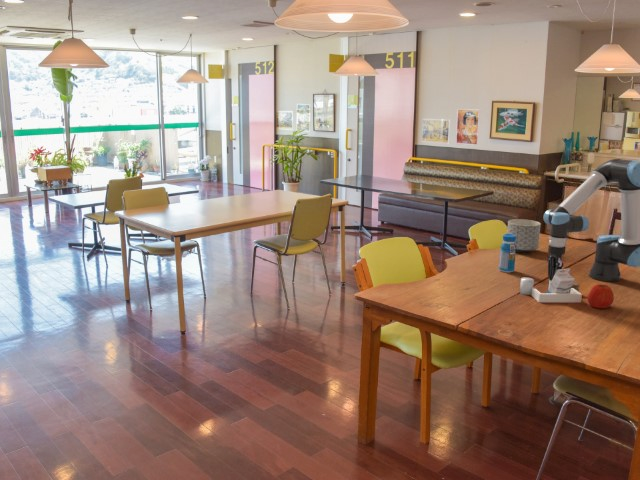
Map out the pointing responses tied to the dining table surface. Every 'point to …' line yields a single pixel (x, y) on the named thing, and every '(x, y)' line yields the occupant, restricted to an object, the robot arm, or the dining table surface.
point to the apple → (600, 296)
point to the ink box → (561, 282)
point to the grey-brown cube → (575, 286)
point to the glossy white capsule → (526, 286)
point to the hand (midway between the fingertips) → (551, 292)
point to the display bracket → (557, 296)
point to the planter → (525, 234)
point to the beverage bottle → (507, 253)
